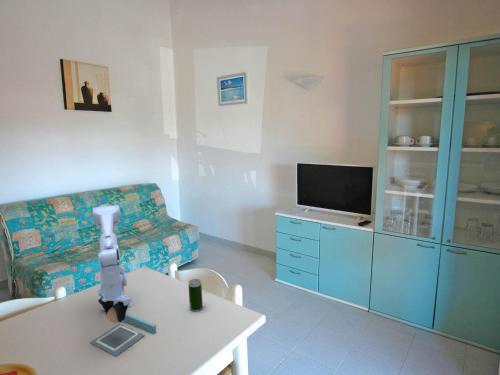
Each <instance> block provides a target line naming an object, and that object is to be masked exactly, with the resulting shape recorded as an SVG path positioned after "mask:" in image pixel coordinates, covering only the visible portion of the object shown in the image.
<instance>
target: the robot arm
mask: <svg viewBox="0 0 500 375" xmlns="http://www.w3.org/2000/svg"><path fill="white" fill-rule="evenodd" d="M92 218H93V219H92V220H93V223H94V225H95V227H97V228H101V232H102V234H101V235H100V236H99V252H98V256H97V257H98V265H99V268H100V273H99V284H100V288H99V289H98V290H97V294H98V296H99V297H100V298H99V299H98V300H97V302H98V303H99V304H100V305H101V307H100V308H99V309H100V310H101V311H104V313H105V315H106V316H107V313H108V311H109V309H110V308H112V307H113V308H114V309H115V311H116V314H117V319H118V323H121V322H124V321H123V320H125V314H126V313H127V311H128V310H127V309H128V308H129V307H130V306H131V298H130V296H127V295H126V293H125V287H127V284H128V282H127V275H126V268H125V267H124V266H122V265H120V264H121V252H120V248H119V245H118V237H117V234H116V233H115V229H116V226H117V225H119V224H120V223H121V210H120V205H119V204H116V205H108V206H97V207H96V206H94V207H93V208H92Z"/></svg>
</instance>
